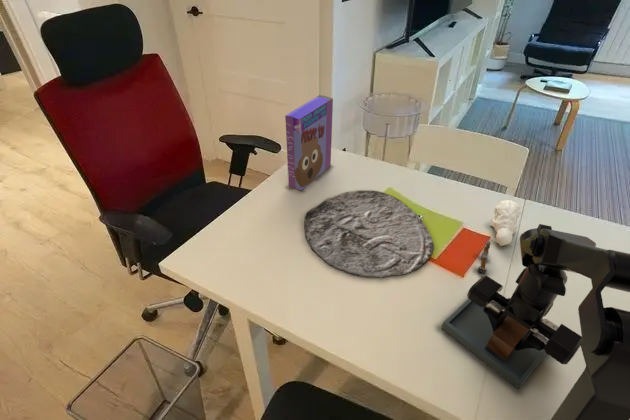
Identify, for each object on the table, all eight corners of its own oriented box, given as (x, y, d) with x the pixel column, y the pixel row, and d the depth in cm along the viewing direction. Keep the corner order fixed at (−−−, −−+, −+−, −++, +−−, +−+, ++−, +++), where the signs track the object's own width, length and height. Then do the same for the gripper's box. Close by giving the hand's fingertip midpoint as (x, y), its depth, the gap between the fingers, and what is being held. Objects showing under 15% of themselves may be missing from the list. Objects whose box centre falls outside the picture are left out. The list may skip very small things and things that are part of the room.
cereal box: (301, 191, 115) (299, 118, 100) (288, 186, 117) (285, 114, 102) (330, 166, 126) (332, 97, 111) (318, 162, 128) (319, 94, 113)
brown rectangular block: (524, 338, 75) (533, 324, 72) (503, 363, 71) (512, 348, 67) (505, 325, 77) (513, 310, 74) (484, 348, 73) (492, 333, 70)
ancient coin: (376, 303, 82) (376, 302, 82) (280, 224, 102) (280, 223, 102) (459, 235, 99) (459, 234, 99) (362, 179, 119) (363, 178, 119)
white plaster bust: (524, 199, 97) (525, 231, 89) (513, 222, 103) (513, 254, 95) (498, 194, 99) (496, 225, 91) (489, 217, 105) (486, 247, 97)
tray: (549, 348, 74) (554, 342, 72) (518, 389, 67) (522, 383, 66) (474, 296, 84) (477, 290, 82) (441, 327, 77) (443, 322, 76)
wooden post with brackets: (489, 247, 94) (493, 240, 90) (482, 276, 91) (487, 270, 87) (481, 245, 95) (485, 238, 91) (475, 273, 92) (479, 267, 88)
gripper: (614, 300, 62) (573, 350, 72) (508, 240, 73) (484, 291, 83) (588, 338, 56) (547, 387, 66) (477, 267, 67) (456, 318, 77)
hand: (506, 341), depth 73 cm, fingers closed on brown rectangular block, 4 cm apart
